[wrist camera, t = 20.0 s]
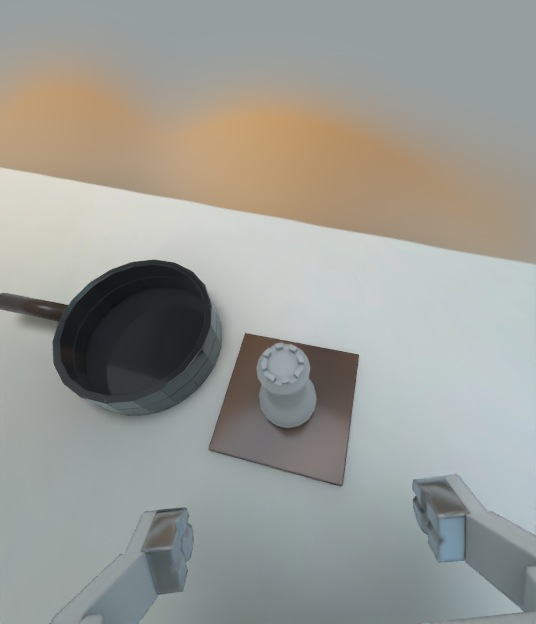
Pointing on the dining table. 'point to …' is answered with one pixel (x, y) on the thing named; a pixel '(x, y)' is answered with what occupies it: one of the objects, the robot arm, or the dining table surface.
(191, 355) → the pan
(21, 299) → the pan handle
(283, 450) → the plate
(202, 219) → the dining table surface
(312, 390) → the rook chess piece
